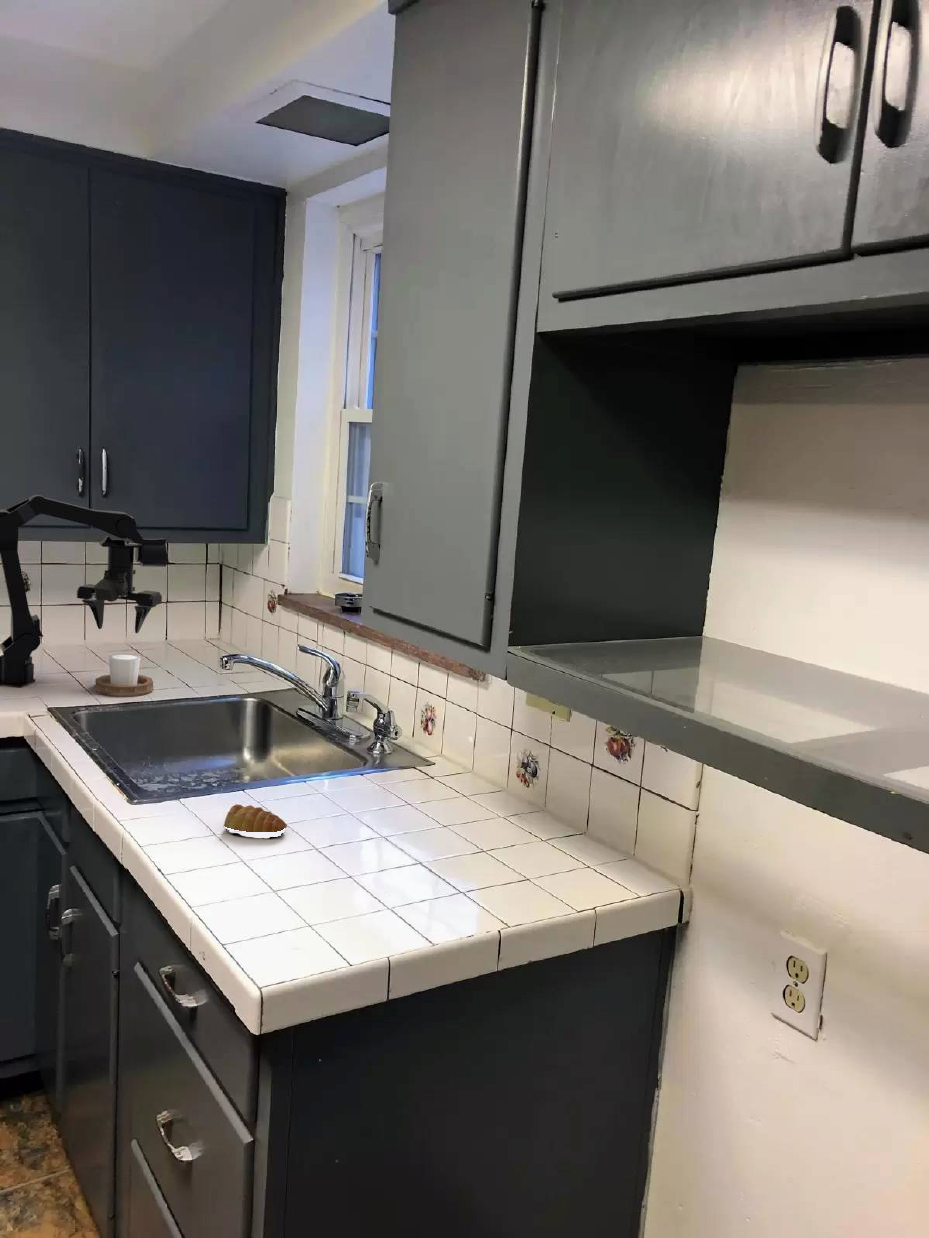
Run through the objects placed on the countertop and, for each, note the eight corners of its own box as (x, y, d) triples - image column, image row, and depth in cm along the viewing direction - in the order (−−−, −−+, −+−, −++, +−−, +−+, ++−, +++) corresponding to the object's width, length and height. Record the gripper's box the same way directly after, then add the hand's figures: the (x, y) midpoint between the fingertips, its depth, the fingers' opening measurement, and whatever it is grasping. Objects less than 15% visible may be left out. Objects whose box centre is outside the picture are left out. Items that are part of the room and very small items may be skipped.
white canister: (144, 684, 230) (145, 655, 229) (131, 691, 223) (132, 661, 222) (116, 681, 231) (117, 652, 230) (102, 687, 224) (103, 657, 223)
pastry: (292, 829, 156) (293, 807, 156) (276, 845, 150) (277, 822, 149) (237, 820, 158) (238, 797, 157) (219, 835, 151) (220, 812, 151)
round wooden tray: (83, 692, 222) (83, 683, 221) (110, 680, 234) (110, 671, 234) (138, 699, 220) (138, 689, 220) (162, 686, 233) (163, 677, 233)
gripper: (65, 565, 224) (63, 632, 226) (143, 573, 222) (140, 641, 224) (89, 560, 234) (87, 624, 237) (163, 568, 232) (161, 633, 235)
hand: (118, 630), depth 233 cm, fingers open, 9 cm apart
